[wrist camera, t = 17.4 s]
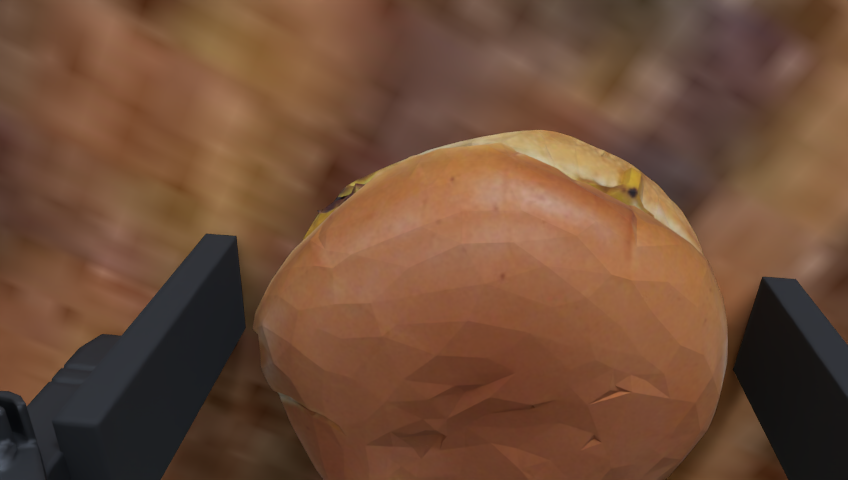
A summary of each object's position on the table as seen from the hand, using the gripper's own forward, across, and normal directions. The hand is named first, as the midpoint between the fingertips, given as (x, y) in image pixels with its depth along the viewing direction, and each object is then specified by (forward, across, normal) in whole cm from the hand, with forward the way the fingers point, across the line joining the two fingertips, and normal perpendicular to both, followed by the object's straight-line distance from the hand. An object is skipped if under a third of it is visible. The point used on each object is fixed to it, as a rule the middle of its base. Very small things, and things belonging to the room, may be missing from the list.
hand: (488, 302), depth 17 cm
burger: (0, 0, 0) cm, 0 cm away
